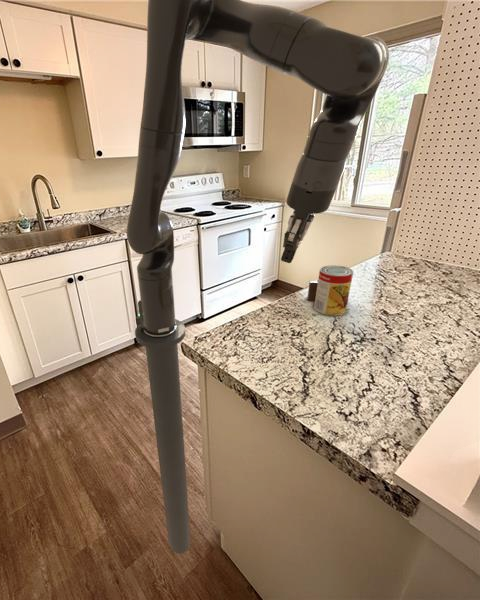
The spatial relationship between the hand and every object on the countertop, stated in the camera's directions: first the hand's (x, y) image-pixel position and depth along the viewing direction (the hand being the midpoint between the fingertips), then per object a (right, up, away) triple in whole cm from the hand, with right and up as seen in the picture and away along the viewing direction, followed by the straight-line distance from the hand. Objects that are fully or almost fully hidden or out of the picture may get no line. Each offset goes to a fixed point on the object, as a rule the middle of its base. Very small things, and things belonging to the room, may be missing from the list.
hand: (286, 260), depth 67 cm
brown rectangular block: (+24, -9, +27) cm, 37 cm away
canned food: (+23, -11, +22) cm, 33 cm away
